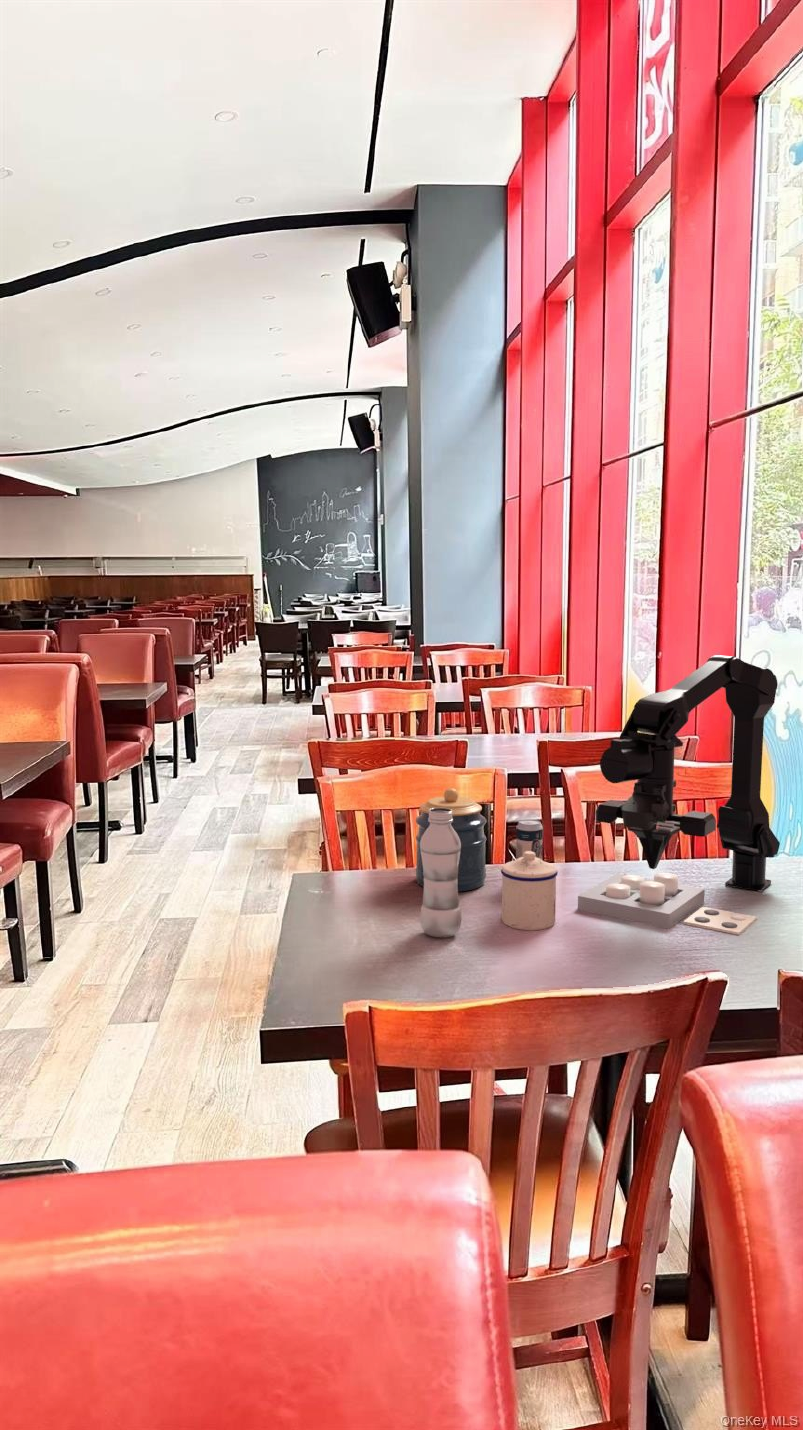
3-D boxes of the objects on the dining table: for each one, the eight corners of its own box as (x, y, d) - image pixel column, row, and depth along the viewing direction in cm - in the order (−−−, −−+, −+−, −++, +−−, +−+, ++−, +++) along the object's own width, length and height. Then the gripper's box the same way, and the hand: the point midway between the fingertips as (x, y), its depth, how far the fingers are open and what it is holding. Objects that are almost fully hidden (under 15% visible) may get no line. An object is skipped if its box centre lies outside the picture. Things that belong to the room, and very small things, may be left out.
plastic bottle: (433, 945, 152) (433, 817, 149) (412, 931, 158) (412, 808, 155) (469, 938, 155) (470, 812, 152) (447, 925, 160) (447, 803, 158)
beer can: (541, 891, 178) (542, 825, 176) (514, 889, 179) (515, 824, 177) (542, 883, 182) (543, 819, 181) (516, 882, 183) (517, 818, 182)
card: (702, 909, 168) (702, 905, 168) (756, 919, 162) (757, 916, 162) (683, 923, 160) (683, 920, 160) (739, 935, 155) (739, 931, 155)
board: (617, 886, 180) (617, 873, 180) (704, 902, 171) (704, 889, 171) (577, 909, 168) (577, 895, 167) (669, 928, 158) (669, 914, 158)
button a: (626, 891, 176) (626, 874, 176) (647, 895, 174) (648, 877, 173) (616, 897, 173) (617, 879, 173) (638, 901, 171) (638, 883, 170)
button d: (645, 898, 168) (645, 880, 167) (667, 902, 165) (668, 884, 165) (635, 904, 165) (636, 885, 164) (658, 909, 162) (659, 890, 162)
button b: (658, 889, 173) (659, 871, 172) (681, 893, 170) (681, 875, 170) (649, 895, 169) (650, 877, 169) (672, 899, 167) (672, 881, 167)
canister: (401, 883, 183) (400, 789, 181) (446, 868, 193) (446, 778, 190) (455, 898, 174) (455, 799, 172) (500, 881, 184) (501, 787, 181)
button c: (611, 900, 171) (612, 882, 171) (633, 904, 169) (634, 886, 169) (601, 906, 168) (602, 887, 168) (623, 910, 166) (624, 892, 166)
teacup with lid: (567, 926, 159) (569, 856, 158) (518, 935, 156) (519, 862, 154) (528, 904, 170) (529, 838, 169) (481, 912, 167) (482, 844, 165)
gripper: (581, 777, 161) (579, 870, 163) (693, 791, 150) (690, 890, 152) (610, 766, 170) (608, 855, 172) (718, 779, 159) (715, 873, 161)
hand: (653, 868), depth 164 cm, fingers closed
